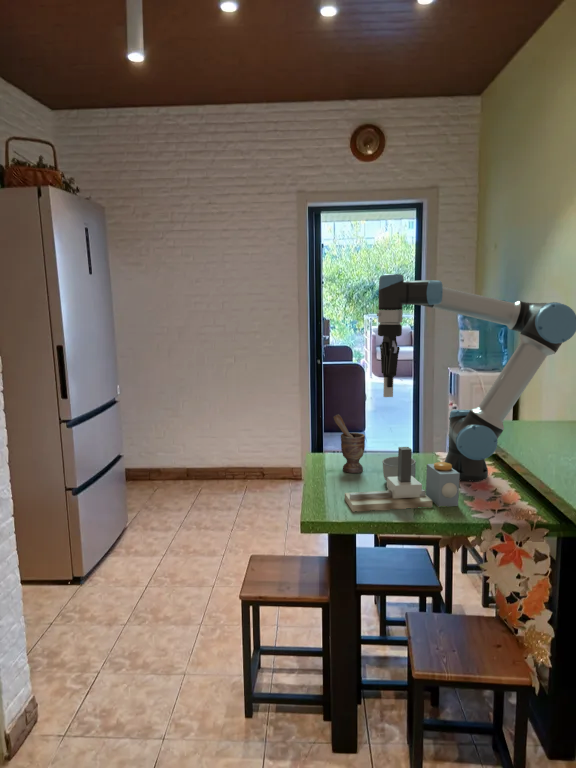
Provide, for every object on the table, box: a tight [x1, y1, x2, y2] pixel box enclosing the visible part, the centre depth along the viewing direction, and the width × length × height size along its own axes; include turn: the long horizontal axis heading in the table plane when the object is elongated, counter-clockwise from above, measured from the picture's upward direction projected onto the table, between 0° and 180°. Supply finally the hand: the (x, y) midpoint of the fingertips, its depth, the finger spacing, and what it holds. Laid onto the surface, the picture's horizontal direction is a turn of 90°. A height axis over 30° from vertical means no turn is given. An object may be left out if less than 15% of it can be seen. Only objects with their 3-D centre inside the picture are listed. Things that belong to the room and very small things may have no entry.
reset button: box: [433, 461, 452, 471], centre depth 160 cm, size 5×5×7 cm
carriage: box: [386, 446, 423, 498], centre depth 158 cm, size 8×8×14 cm
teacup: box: [381, 456, 417, 482], centre depth 178 cm, size 14×11×8 cm
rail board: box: [344, 488, 434, 513], centre depth 159 cm, size 24×10×4 cm, turn 97°
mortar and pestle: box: [332, 413, 366, 474], centre depth 190 cm, size 12×9×20 cm
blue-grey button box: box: [425, 463, 460, 508], centre depth 160 cm, size 6×10×10 cm, turn 7°
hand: (388, 396), depth 172 cm, fingers closed
